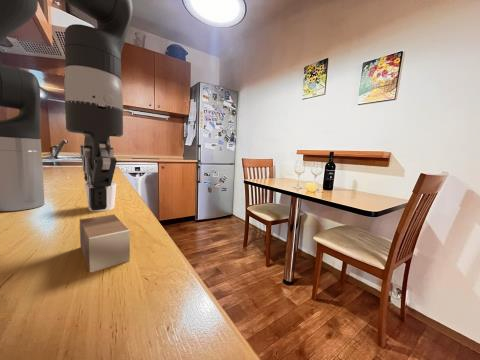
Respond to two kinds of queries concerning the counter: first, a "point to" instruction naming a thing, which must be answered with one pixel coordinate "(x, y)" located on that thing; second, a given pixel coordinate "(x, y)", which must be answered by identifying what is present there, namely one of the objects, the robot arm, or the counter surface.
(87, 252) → the greyish brown block
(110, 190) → the shot glass
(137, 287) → the counter surface
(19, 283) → the counter surface
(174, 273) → the counter surface
